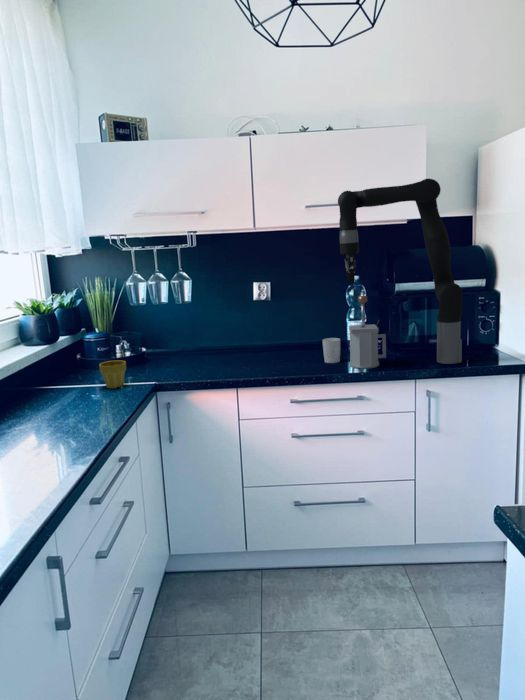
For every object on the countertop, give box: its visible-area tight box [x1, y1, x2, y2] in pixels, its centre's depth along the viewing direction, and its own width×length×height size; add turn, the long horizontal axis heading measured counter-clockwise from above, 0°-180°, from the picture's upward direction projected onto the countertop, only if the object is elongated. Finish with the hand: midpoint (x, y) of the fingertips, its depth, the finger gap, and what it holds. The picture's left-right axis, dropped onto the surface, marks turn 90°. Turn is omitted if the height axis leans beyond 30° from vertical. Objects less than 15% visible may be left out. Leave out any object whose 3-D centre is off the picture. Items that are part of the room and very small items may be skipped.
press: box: [348, 324, 387, 370], centre depth 230 cm, size 15×12×16 cm
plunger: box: [357, 295, 368, 328], centre depth 228 cm, size 9×9×16 cm
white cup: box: [322, 337, 341, 364], centre depth 242 cm, size 8×8×10 cm
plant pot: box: [98, 359, 127, 389], centre depth 221 cm, size 10×10×10 cm
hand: (351, 281), depth 225 cm, fingers open, 8 cm apart
